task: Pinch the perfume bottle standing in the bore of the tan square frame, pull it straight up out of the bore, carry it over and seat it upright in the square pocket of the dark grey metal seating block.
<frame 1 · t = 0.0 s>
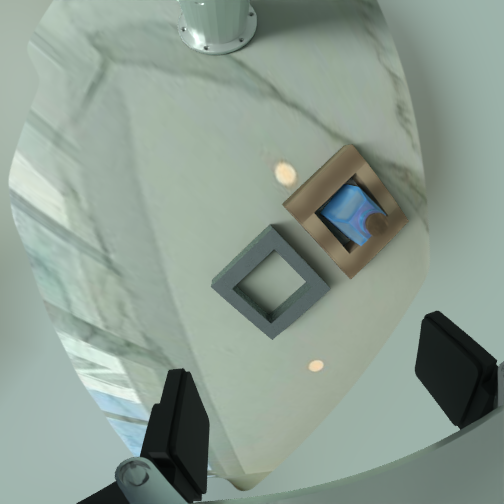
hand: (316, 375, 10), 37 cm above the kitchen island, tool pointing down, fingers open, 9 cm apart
perfume bottle: (344, 210, 47), resting in tan square frame
tan square frame: (345, 210, 47), on the kitchen island
seating block: (270, 281, 49), on the kitchen island
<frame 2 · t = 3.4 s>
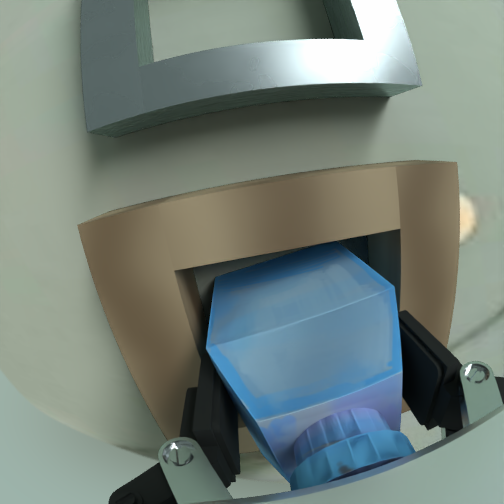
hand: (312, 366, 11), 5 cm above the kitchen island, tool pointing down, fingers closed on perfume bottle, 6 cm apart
perfume bottle: (290, 309, 16), resting in tan square frame, touching gripper
tan square frame: (291, 311, 15), on the kitchen island
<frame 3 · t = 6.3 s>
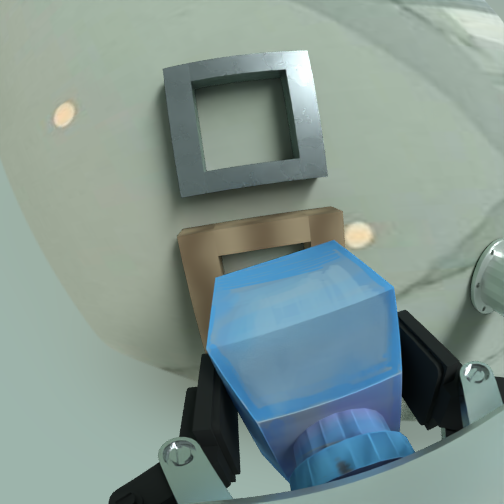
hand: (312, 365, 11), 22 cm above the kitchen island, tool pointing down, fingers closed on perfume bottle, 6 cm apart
perfume bottle: (290, 310, 16), point 17 cm above the kitchen island, touching gripper
tan square frame: (266, 278, 33), on the kitchen island
seating block: (244, 122, 28), on the kitchen island
when the fingers open (6 cm above the kitchen island, at t = 9.6 s): perfume bottle drops 1 cm, resting in seating block.
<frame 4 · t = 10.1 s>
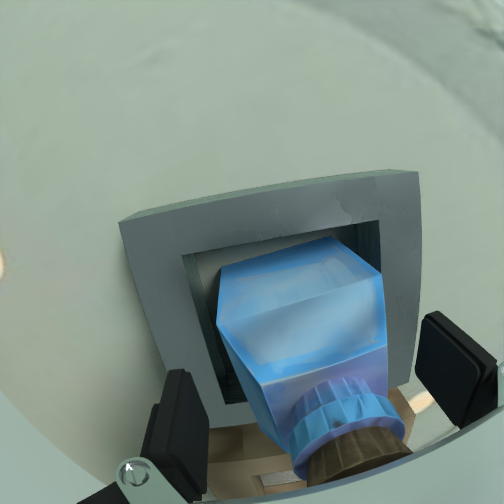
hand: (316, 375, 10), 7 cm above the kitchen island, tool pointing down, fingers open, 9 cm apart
perfume bottle: (289, 299, 17), resting in seating block
tan square frame: (305, 459, 22), on the kitchen island
seating block: (286, 300, 17), on the kitchen island
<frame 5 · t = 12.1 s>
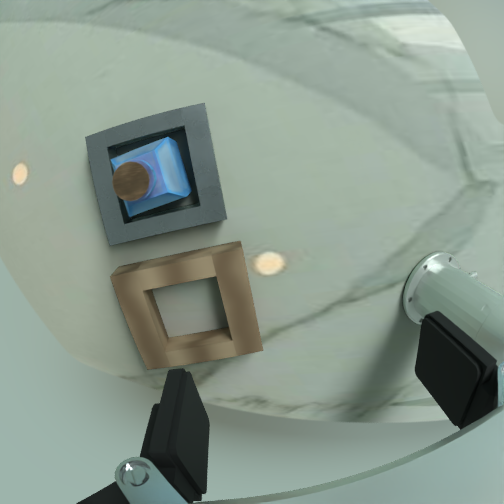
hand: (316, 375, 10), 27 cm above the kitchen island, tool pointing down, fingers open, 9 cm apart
perfume bottle: (159, 174, 33), resting in seating block
tan square frame: (190, 304, 38), on the kitchen island
seating block: (157, 174, 33), on the kitchen island
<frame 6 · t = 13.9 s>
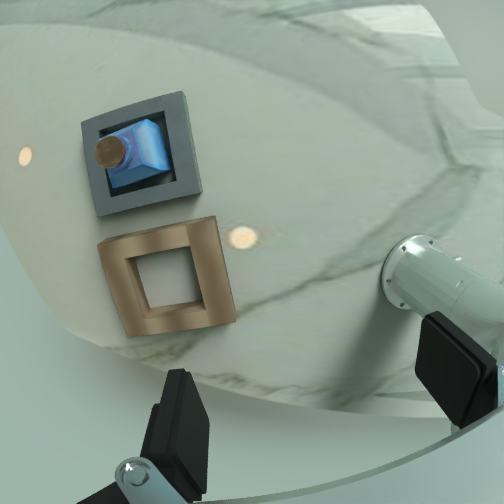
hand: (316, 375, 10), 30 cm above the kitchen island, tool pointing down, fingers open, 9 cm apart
perfume bottle: (144, 155, 36), resting in seating block
tan square frame: (169, 275, 41), on the kitchen island
seating block: (142, 154, 36), on the kitchen island
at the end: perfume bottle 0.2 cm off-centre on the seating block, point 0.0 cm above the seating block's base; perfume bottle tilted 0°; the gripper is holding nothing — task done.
